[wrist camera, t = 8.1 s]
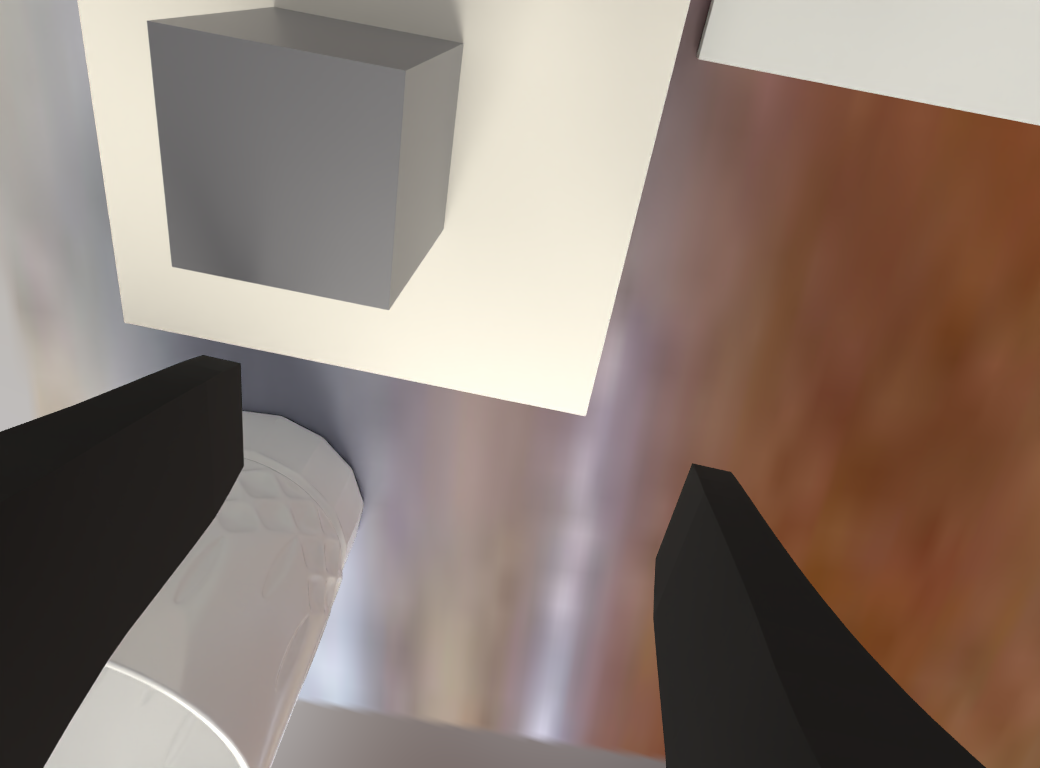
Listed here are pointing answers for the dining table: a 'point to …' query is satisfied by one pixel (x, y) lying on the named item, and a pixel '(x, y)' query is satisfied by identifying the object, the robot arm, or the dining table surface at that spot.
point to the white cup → (229, 619)
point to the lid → (382, 177)
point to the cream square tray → (891, 48)
